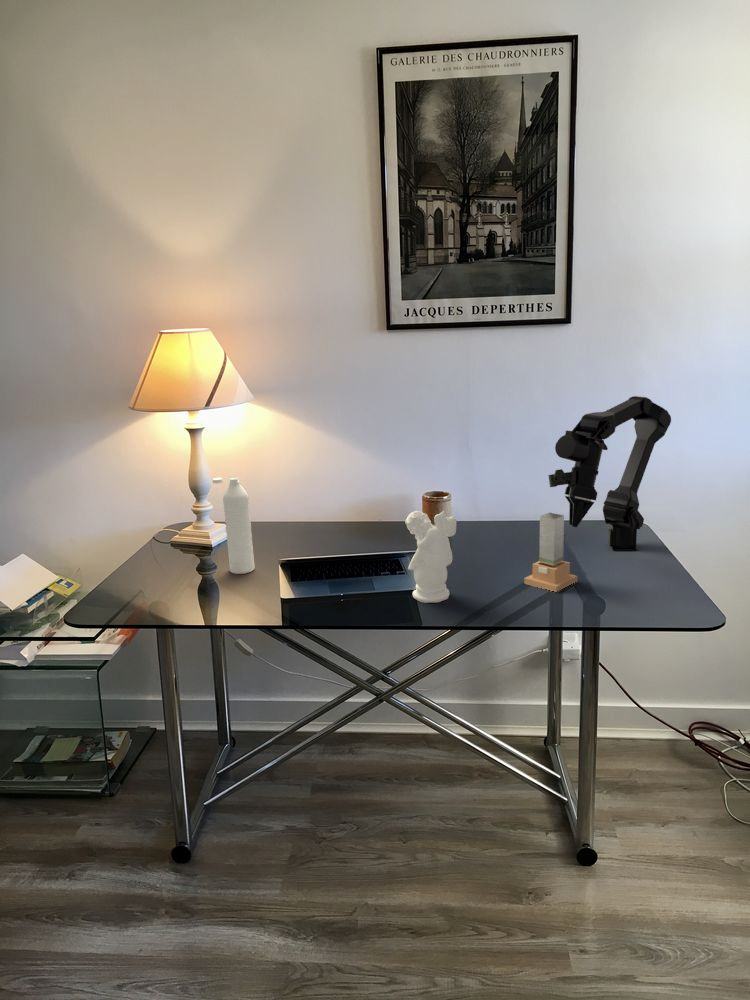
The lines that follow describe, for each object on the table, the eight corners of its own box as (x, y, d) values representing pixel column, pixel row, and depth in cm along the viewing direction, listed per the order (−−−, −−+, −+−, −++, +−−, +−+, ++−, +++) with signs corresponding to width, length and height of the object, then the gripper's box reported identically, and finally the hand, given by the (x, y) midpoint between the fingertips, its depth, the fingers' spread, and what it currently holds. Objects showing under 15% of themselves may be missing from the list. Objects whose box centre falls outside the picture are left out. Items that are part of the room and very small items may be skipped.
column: (548, 557, 192) (549, 512, 189) (563, 561, 189) (564, 515, 186) (539, 562, 189) (539, 516, 186) (553, 565, 186) (554, 519, 183)
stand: (545, 573, 197) (545, 554, 195) (577, 581, 190) (577, 562, 189) (524, 583, 191) (524, 564, 189) (556, 592, 185) (556, 572, 183)
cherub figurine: (402, 594, 188) (398, 505, 182) (442, 581, 195) (439, 495, 189) (435, 609, 178) (431, 515, 173) (475, 595, 185) (473, 504, 180)
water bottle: (256, 565, 212) (248, 474, 205) (252, 573, 206) (244, 480, 199) (224, 566, 212) (215, 475, 205) (219, 575, 206) (209, 482, 199)
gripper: (552, 459, 207) (539, 517, 208) (556, 456, 189) (542, 520, 189) (595, 468, 205) (581, 526, 206) (603, 466, 187) (589, 530, 188)
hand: (572, 525), depth 197 cm, fingers open, 9 cm apart
